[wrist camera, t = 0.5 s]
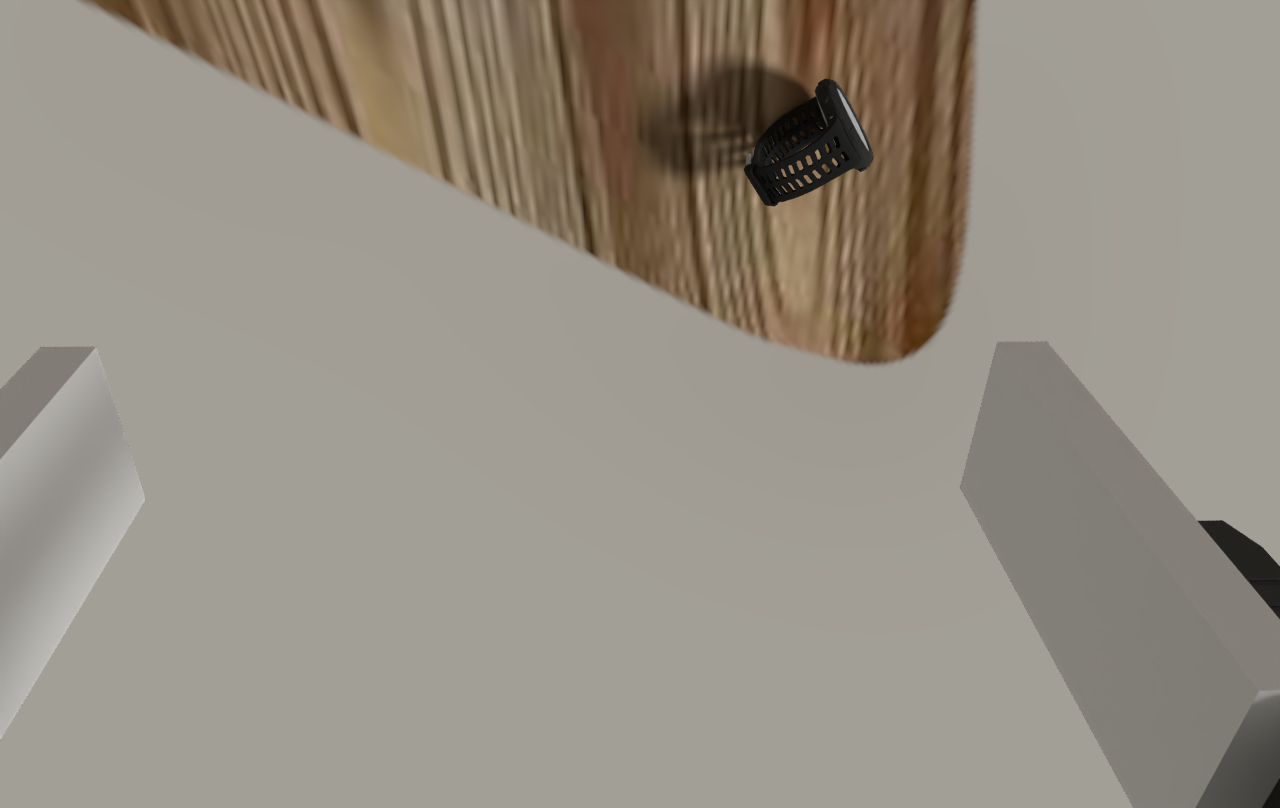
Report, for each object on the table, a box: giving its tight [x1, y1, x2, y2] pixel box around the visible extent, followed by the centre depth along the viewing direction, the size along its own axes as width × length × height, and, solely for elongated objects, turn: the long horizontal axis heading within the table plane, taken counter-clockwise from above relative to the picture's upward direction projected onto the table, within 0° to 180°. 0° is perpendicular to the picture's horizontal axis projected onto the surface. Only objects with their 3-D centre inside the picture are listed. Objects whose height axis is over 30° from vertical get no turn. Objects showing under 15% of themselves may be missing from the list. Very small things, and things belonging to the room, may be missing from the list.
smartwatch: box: [744, 79, 873, 206], centre depth 37 cm, size 4×5×5 cm
